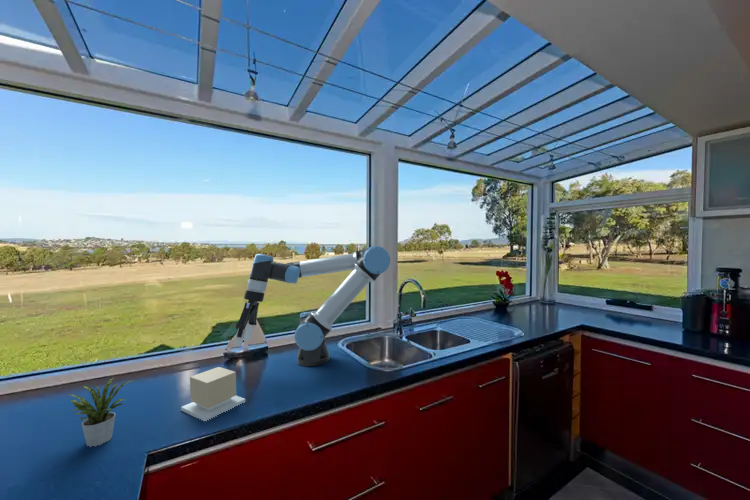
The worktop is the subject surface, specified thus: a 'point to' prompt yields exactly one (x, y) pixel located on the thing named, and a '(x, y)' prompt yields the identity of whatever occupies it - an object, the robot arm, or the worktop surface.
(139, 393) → the worktop surface
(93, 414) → the house plant
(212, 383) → the beige cubic block
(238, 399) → the white serrated base block
